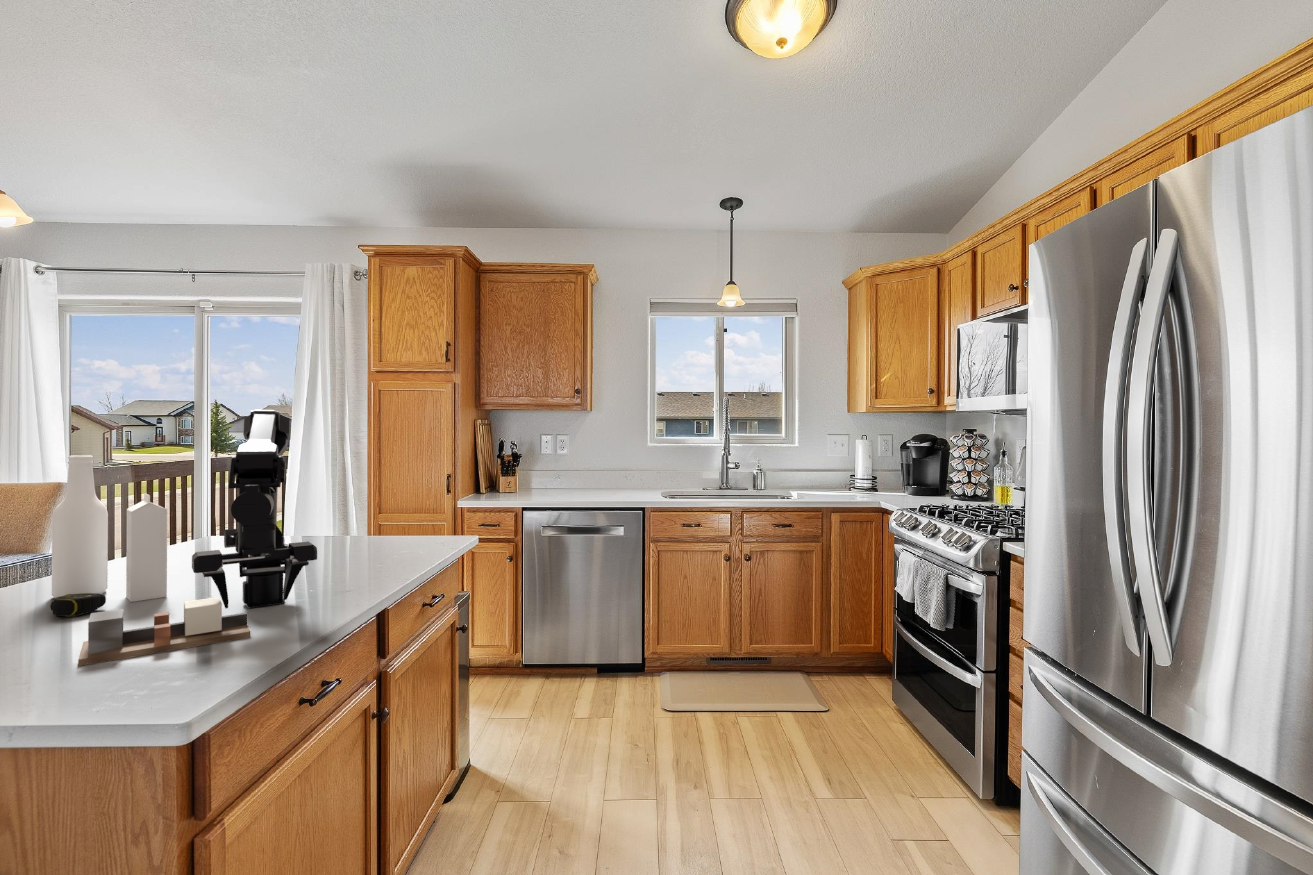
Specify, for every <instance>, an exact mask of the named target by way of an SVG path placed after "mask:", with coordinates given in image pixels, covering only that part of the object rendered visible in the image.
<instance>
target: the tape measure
mask: <svg viewBox="0 0 1313 875" xmlns="http://www.w3.org/2000/svg"><path fill="white" fill-rule="evenodd" d="M106 600H107V597H106V595H105V594H104V593H103V594H95V593H82V594H67V595H65V596H60V597H57V598H54V599H53V600H52V601H51V602H50V604H49V605H50V606H49V607H50V608H49V609H50V610H51V612H52V615H53V616H56V617H66V618H67V617H68V618H69V617H71V618H72V617H78V616H80V615H85V614H91V613H94V612H95V611H97V610H98V609H101V608H102V607H103V606H104V605H106V603H107V602H106Z"/></svg>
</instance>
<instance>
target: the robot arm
mask: <svg viewBox="0 0 1313 875" xmlns="http://www.w3.org/2000/svg"><path fill="white" fill-rule="evenodd" d="M291 426H292V425H291V419H290V418H289V417H286V416H284V415H282V414H280V410H276V409H254V410H250V414H249V415H247V416H244V417H243V430H242V431H243V437H244V440H245V441H247V442H245V443H244V442H243V443H242V444H240V445H238V447H237V450H236V453H235V455H233V454H232V456H231V460H230V461H231V462H230V470H229V480H228V489H231V490H232V489H239V490H238V493H237V495H238V496H237V497H236V498H235V499H234V500H233V501H232V503H231V505H230V506H231V507H230V512H231V515H232V518H233V519H234V520H235V521H236V522H237V525H238V526H237V528H231V529H230V528H228V529H224V531H223V546H224V549H225V548H226V549H227V548H235V552H233V553H223V554H222V552H221V551H220V549H214V550H202V551H196V552H194V553H193V554H192V555H191V568H192V569H191V570H192V572H193V573H194V574H201V573H202V576H203V578H208V577H209V578H211V579H212V581H213V582H214V584H215V586H216V588H217V590H218V593H219V597H220V598H221V602H222V605H224V608H225V609H229V593H228V586H227V580H226V578H227V577H226V573H225V570H224V568H223V566H225V565H232V564H233V565H234V564H236V565H237V564H238V566H239V570H238V571H239V578H243V577H245V581H243V582H242V602H243V604H245V606H246V607H247V609H252V608H258V607H266V606H273V605H279V604H285V603H286V600H288V597H289V595H290V593H291V591H292V589H293V586H294V584H295V581H296V579H297V577H298V575H299V574H300V573H301V571H302V569H303V568H304V567H305V566H309V563H310V562H311V561H316V560H318V548H317V546H316V545H314V544H313V543H312V542H310V541H301V542H299V541H298V542H291V543H290V542H289V543H287V544H286V543H285V540H286V539H285V536H284V534H283V532H282V531H281V529H280V528H279V526H278V524H277V520H278V491H279V490H278V488H282V487H281V486H282V484H285V480H286V479H285V478H286V460H285V459H284V456H283V455H284V453H285V452H286V451H287V450H288V441H291V439H292V438H291V437H292V435H291V434H292V431H291V430H292V428H291ZM284 574H285V575H284Z"/></svg>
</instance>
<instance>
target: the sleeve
mask: <svg viewBox="0 0 1313 875" xmlns="http://www.w3.org/2000/svg"><path fill="white" fill-rule="evenodd" d="M220 598H221V597H220V596H216V597H210V598H209V597H208V598H201V599H193V600H185V601H183V622H185V636H188V635H194V634H200V633H207V632H213V631H219V630H222V616H223V615H222V614H223V613H222V612H223V608H222V606H223V602H222V600H221V599H220Z"/></svg>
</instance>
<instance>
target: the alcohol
mask: <svg viewBox="0 0 1313 875" xmlns="http://www.w3.org/2000/svg"><path fill="white" fill-rule="evenodd" d="M67 459H68V462H67V465H68V471H67V480H66V489H65V495H64V498H63V500H62V501H60V502H59V504H58V505H56V507H55V508H54V509H53V512H52V515H51V596H53V598H54V599H55V598H57V597H60V596H65V595H67V594H82V593H95V594H103V595H104V594H105V592H106V591H107V589H108V586H109V585H108V584H109V583H108V582H109V580H108V578H109V577H108V575H109V573H108V572H109V569H108V564H109V561H108V560H109V558H108V556H109V555H108V553H109V546H108V545H109V536H108V535H109V521H108V520H109V512H108V509H107V506H106V505H105V503H103V502H102V501H101V500H100V499H99V498H98V496H97V493H96V489H95V486H96V485H95V477H94V469H93V468H94V467H93V466H94V465H93V464H94V461H93V459H94V456H93V455H91V454H86V455H85V454H84V455H82V454H80V455H79V454H78V455H73V454H72V455H68V456H67Z"/></svg>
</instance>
